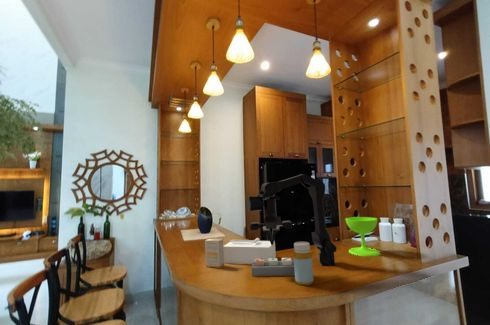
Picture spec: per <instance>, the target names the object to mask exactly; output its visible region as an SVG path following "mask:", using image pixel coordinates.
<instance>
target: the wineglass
mask: <svg viewBox="0 0 490 325" xmlns="http://www.w3.org/2000/svg"><path fill="white" fill-rule="evenodd" d="M345 223H346V225H347V227H348V228H349V229H350V230H351V231H353V232H354V233H356V234H360V242H361V246H358V247H352V248H350V249H349V250H348V253H349V254H350V253H351V254H350V255H353V254H354V255H353V256H357V255H358V256H357V257H367V258H368V257H378V256H380V255H382V252H381V251H380V250H379V249H377V250H376V248H373V249H371V248H372V247H367V246H366V238H365V237H366V236H365V235H366V234H370V233H371V232H373V231H374V230H375V228H376V227H377V224H378V218H377V217H368V216H354V217H346V218H345ZM378 250H379V251H378ZM380 252H381V253H380Z"/></svg>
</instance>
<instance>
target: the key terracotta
mask: <svg viewBox="0 0 490 325" xmlns="http://www.w3.org/2000/svg"><path fill="white" fill-rule="evenodd" d="M255 266H264V258H261V259H255Z"/></svg>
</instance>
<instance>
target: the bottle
mask: <svg viewBox="0 0 490 325" xmlns="http://www.w3.org/2000/svg"><path fill="white" fill-rule="evenodd" d="M293 251H294V253H293V261H294V270H295V275H294V280H295V282H296V284H297V285H299V286H305V287H306V286H311V285H312V284H313V283H314V270H313V269H314V268H313V258H312V252H311V246H310V242H308V241H295V242H294V243H293Z"/></svg>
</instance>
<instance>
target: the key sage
mask: <svg viewBox="0 0 490 325" xmlns="http://www.w3.org/2000/svg"><path fill="white" fill-rule="evenodd" d="M268 260H269V266H272V265H278V261H279V260H278V258H277V257H275V258H268Z"/></svg>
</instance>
